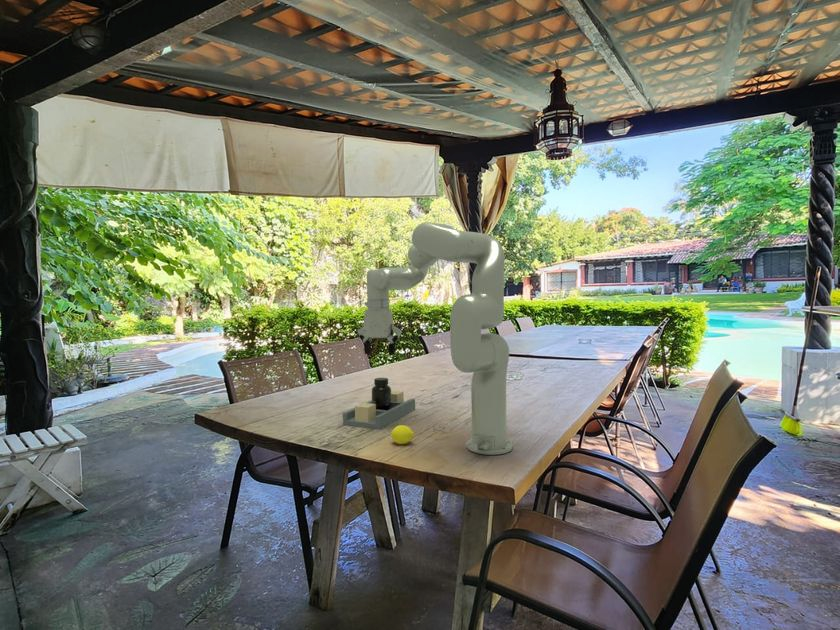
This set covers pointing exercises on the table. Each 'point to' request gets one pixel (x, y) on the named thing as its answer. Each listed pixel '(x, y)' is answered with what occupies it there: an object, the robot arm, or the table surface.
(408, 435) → the lemon
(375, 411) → the rail rack
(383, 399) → the supplement bottle
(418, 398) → the table surface
